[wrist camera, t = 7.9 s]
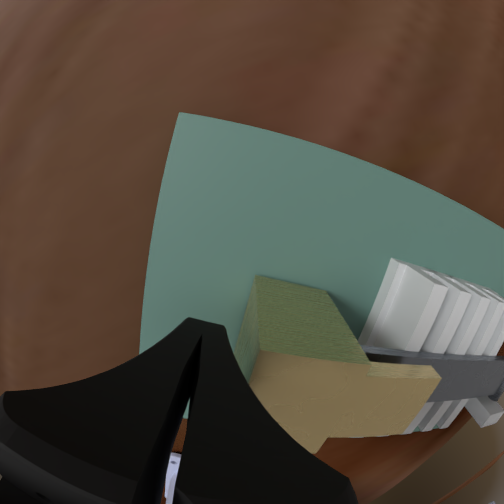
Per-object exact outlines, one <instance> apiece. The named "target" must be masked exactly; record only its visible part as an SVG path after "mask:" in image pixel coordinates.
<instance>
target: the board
mask: <svg viewBox="0 0 504 504" xmlns="http://www.w3.org/2000/svg"><path fill="white" fill-rule="evenodd" d="M255 275H258V276H263V277H267V278H271V279H276V280H280V281H284V282H289V283H293V284H298V285H302V286H307V287H311V288H316V289H320V290H325V291H326V292H327V293H328V295H329V296H330V298H331V299H332V301H333V302H334V304H335V306H336V307H337V309H338V310H339V312H340V314H341V315H342V317H343V318H344V320H345V322H346V323H347V325H348V326H349V328H350V330H351V331H352V333H353V335H354V336H355V338H356V339H357V341H358V343H359V344H360V345H366V346H374V347H382V348H391V349H399V350H404V351H414V352H431V353H440V354H458V355H482V356H496V355H497V353H498V351H499V349H500V347H501V345H502V343H503V341H504V229H503V228H501V227H499V226H498V225H496V224H494V223H493V222H491V221H489V220H488V219H486V218H484V217H483V216H481V215H479V214H477V213H476V212H474V211H472V210H470V209H468V208H467V207H465V206H463V205H461V204H459V203H457V202H455V201H453V200H451V199H449V198H448V197H446V196H444V195H442V194H440V193H438V192H435V191H433V190H431V189H429V188H427V187H425V186H423V185H421V184H419V183H416V182H414V181H412V180H410V179H407V178H405V177H403V176H401V175H398V174H396V173H393V172H391V171H389V170H386V169H384V168H381V167H379V166H376V165H374V164H371V163H369V162H366V161H363V160H361V159H358V158H355V157H353V156H350V155H347V154H344V153H341V152H338V151H335V150H332V149H330V148H326V147H323V146H320V145H317V144H314V143H311V142H308V141H304V140H301V139H298V138H294V137H291V136H287V135H283V134H280V133H276V132H272V131H268V130H265V129H261V128H257V127H252V126H248V125H244V124H239V123H235V122H230V121H226V120H221V119H216V118H211V117H205V116H200V115H194V114H188V113H182V112H179V115H178V119H177V122H176V126H175V130H174V134H173V137H172V141H171V145H170V149H169V153H168V158H167V162H166V166H165V171H164V175H163V180H162V184H161V189H160V194H159V199H158V204H157V209H156V215H155V221H154V226H153V232H152V238H151V245H150V252H149V258H148V266H147V273H146V282H145V290H144V300H143V310H142V322H141V335H140V351H139V354H141V353H142V352H144V351H145V350H147V349H149V348H150V347H152V346H153V345H155V344H156V343H157V342H159V341H160V340H161V339H163V338H164V337H165V336H166V335H168V334H169V333H170V332H171V331H173V330H174V329H175V328H176V327H177V326H178V325H179V324H180V323H182V322H183V321H184V320H185V319H186V318H188V317H191V318H195V319H199V320H203V321H207V322H212V323H216V324H220V325H224V326H225V328H226V330H227V335H228V339H229V342H230V345H231V348H232V351H233V353H234V350H235V346H236V342H237V339H238V335H239V332H240V328H241V324H242V321H243V317H244V314H245V310H246V306H247V303H248V299H249V295H250V292H251V288H252V284H253V281H254V277H255ZM189 401H190V399H189ZM189 401H188V404H187V407H186V410H185V413H184V416H183V418H187V419H188V411H189ZM464 406H465V407H466V409H467V410H468V411H469V413H470V414H471V415H472V417H473V418H474V419H475V421H476V422H477V423H478V425H479V426H480V427H481V428H482V427H485V426H488V425H491V424H494V423H496V422H497V421H498V420H499V418H500V417H501V416H502V414H503V413H504V409H503V408H502V407H501V406H500V404H499V403H498V402H497V401H492V400H491V399H490V398H489V397H488V396H483V397H476V398H469V399H461V400H452V401H441V402H427V403H425V404H424V406H423V407H422V409H421V410H420V411H419V413H418V414H417V415H416V417H415V418H414V419H413V421H412V422H411V423H410V425H409V426H408V427H407V428H406V430H405V431H404V432H403V433H402V434H410V433H412V432H415V431H421V432H424V431H430V430H432V429H435V428H439V429H442V428H447V427H448V426H449V425H450V424H451V423H452V421H453V420H454V419H455V418H456V416H457V415H458V414H459V412H460V411H461V410H462V408H463V407H464ZM400 435H401V434H400ZM385 436H389V435H385ZM377 437H378V436H377ZM349 438H360V437H349Z"/></svg>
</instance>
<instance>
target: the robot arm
mask: <svg viewBox="0 0 504 504" xmlns="http://www.w3.org/2000/svg"><path fill="white" fill-rule="evenodd" d="M189 399H190V401H189ZM188 401H189V411H188V421H187V431H186V436H185V441H184V445H183V450H182V454H178V453H171V451H172V448H173V444H174V441H175V438H176V435H177V433H178V430H179V427H180V424H181V421H182V418H183V416H184V413H185V410H186V407H187V404H188ZM0 474H1V475H2V479H1V480H0V504H160V503H161V498H162V493H163V488H164V483H165V478H166V485H165V497H166V498H167V499H166V504H358V501H357V498H356V494H355V492H354V490H353V487H352V485H351V483H350V480H349V478H348V477H346V476H344V475H343V474H341V473H339V472H338V471H336V470H335V469H333V468H332V467H330V466H328V465H327V464H325V463H324V462H322V461H321V460H319V459H318V458H316V457H315V456H314V455H312V454H311V453H310V452H309V451H307V450H306V449H305V448H304V447H303V446H301V445H300V444H299V443H298V442H297V441H295V440H294V439H293V438H292V437H291V436H290V435H289V434H288V433H287V432H286V431H285V430H284V429H283V428H282V427H281V426H280V425H279V424H278V423H277V422H276V420H275V419H274V418H273V417H272V416H271V415H270V414H269V412H268V411H267V410H266V409H265V407H264V406H263V405H262V403H261V402H260V401H259V399H258V398H257V396H256V395H255V393H254V392H253V390H252V389H251V387H250V385H249V384H248V382H247V380H246V378H245V377H244V375H243V373H242V371H241V369H240V367H239V365H238V362H237V360H236V358H235V356H234V353H233V351H232V348H231V345H230V342H229V339H228V335H227V330H226V328H225V326H224V325H220V324H216V323H212V322H207V321H203V320H199V319H195V318H191V317H188V318H186V319H185V320H184V321H183V322H182V323H180V324H179V325H178V326H177V327H176V328H175V329H174V330H173V331H171V332H170V333H169V334H168V335H166V336H165V337H164V338H163V339H161V340H160V341H159V342H157V343H156V344H155V345H153V346H152V347H150V348H149V349H147V350H145V351H144V352H142V353H141V354H139V355H138V356H136V357H134V358H132V359H131V360H129V361H127V362H125V363H123V364H121V365H119V366H117V367H115V368H113V369H111V370H108V371H106V372H103V373H100V374H98V375H95V376H92V377H89V378H86V379H83V380H80V381H76V382H72V383H68V384H64V385H59V386H54V387H48V388H42V389H32V390H21V391H5V392H4V393H3V394H2V395H1V396H0ZM489 504H496V503H495V502H494V501H492V502H490V503H489Z"/></svg>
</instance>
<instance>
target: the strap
mask: <svg viewBox="0 0 504 504" xmlns="http://www.w3.org/2000/svg"><path fill="white" fill-rule="evenodd" d="M360 346H361V348H362V349H363V351H364V353H365V354H366V356H367V358H368V359H369V361H370V362H380V363H393V364H408V365H429V366H432V367H433V368H434V369H435V371H436V372H437V373H438V374H439V376H440V377H441V378H442V379H441V380H440V382H439V383H438V385H437V387H436V388H435V390H434V391H433V393H432V394H431V396H430V397H429V399H428V400H427V402H441V401H452V400H461V399H469V398H476V397H483V396H488V397H489V398H490V399H491V400H492V401H498V399H499V397H500V396H501V395H502V393H503V392H504V356H482V355H458V354H440V353H431V352H414V351H404V350H399V349H391V348H382V347H374V346H366V345H360ZM427 402H426V403H427Z"/></svg>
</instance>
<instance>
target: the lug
mask: <svg viewBox="0 0 504 504" xmlns="http://www.w3.org/2000/svg"><path fill="white" fill-rule="evenodd" d="M234 356H235V358H236V360H237V362H238V365H239V367H240V369H241V371H242V373H243V375H244V377H245V378H246V380H247V382H248V384H249V385H250V387H251V389H252V390H253V392H254V393H255V395H256V396H257V398H258V399H259V401H260V402H261V403H262V405H263V406H264V407H265V409H266V410H267V411H268V412H269V414H270V415H271V416H272V417H273V418H274V419H275V420H276V422H277V423H278V424H279V425H280V426H281V427H282V428H283V429H284V430H285V431H286V432H287V433H288V434H289V435H290V436H291V437H292V438H293V439H294V440H295V441H297V442H298V443H299V444H300V445H301V446H303V447H304V448H305V449H306V450H307V451H309V452H310V453H316V452H317V451H318V450H319V448H320V447H321V446H322V444H323V443H324V442H325V440H326V439H327V437H369V436H385V435H396V434H402V433H403V432H404V431H405V430H406V428H407V427H408V426H409V425H410V423H411V422H412V421H413V419H414V418H415V417H416V415H417V414H418V413H419V411H420V410H421V409H422V407H423V406H424V404H425V403H426V402H427V400H428V399H429V397H430V396H431V394H432V393H433V391H434V390H435V388H436V387H437V385H438V383H439V382H440V380H441V379H442V378H441V377H440V376H439V374H438V373H437V372H436V371H435V369H434V368H433V367H432V366H429V365H408V364H393V363H380V362H370V361H369V359H368V358H367V356H366V354H365V353H364V351H363V349H362V348H361V346H360V344H359V343H358V341H357V339H356V338H355V336H354V335H353V333H352V331H351V330H350V328H349V326H348V325H347V323H346V322H345V320H344V318H343V317H342V315H341V314H340V312H339V310H338V309H337V307H336V306H335V304H334V302H333V301H332V299H331V298H330V296H329V295H328V293H327V292H326V291H325V290H320V289H316V288H311V287H307V286H302V285H298V284H293V283H289V282H284V281H280V280H276V279H271V278H267V277H263V276H258V275H255V277H254V281H253V284H252V288H251V292H250V295H249V299H248V303H247V306H246V310H245V314H244V317H243V321H242V324H241V328H240V332H239V335H238V339H237V342H236V346H235V350H234Z"/></svg>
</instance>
